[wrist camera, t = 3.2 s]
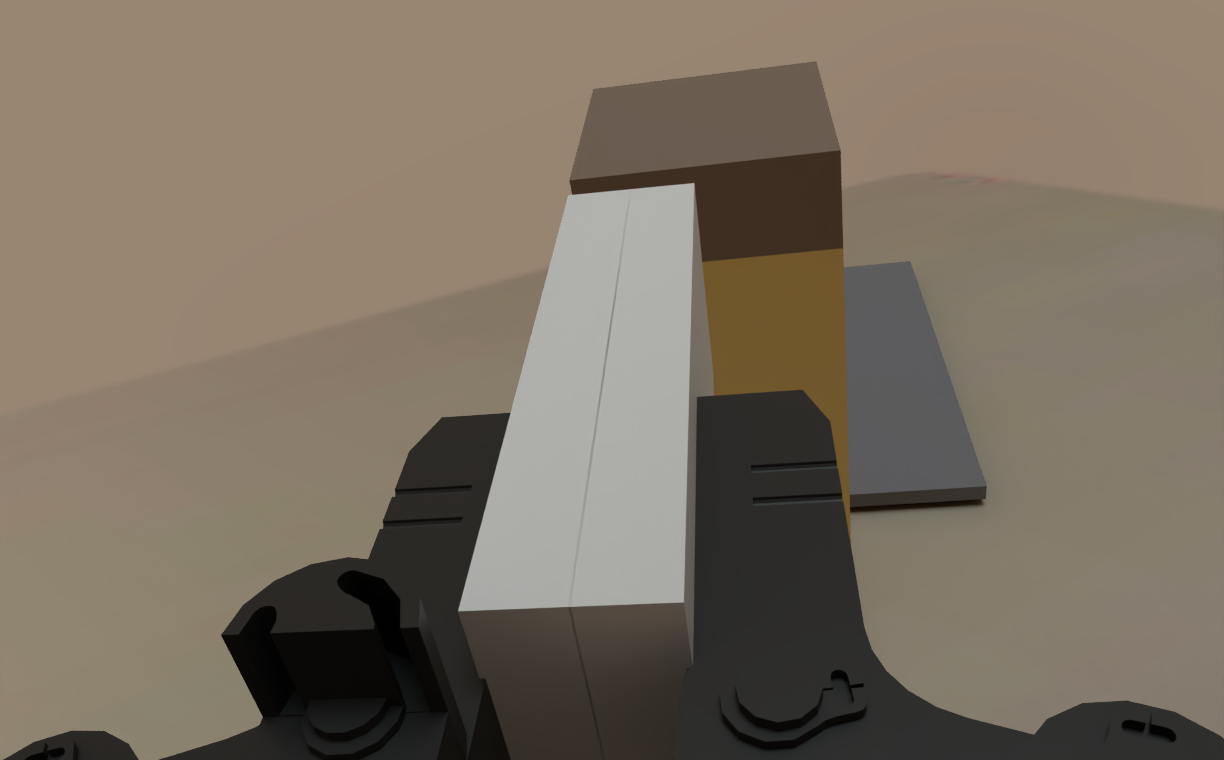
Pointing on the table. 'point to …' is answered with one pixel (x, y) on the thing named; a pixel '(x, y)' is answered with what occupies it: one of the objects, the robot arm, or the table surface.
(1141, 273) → the table surface
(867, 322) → the charcoal mat
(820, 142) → the ochre post
